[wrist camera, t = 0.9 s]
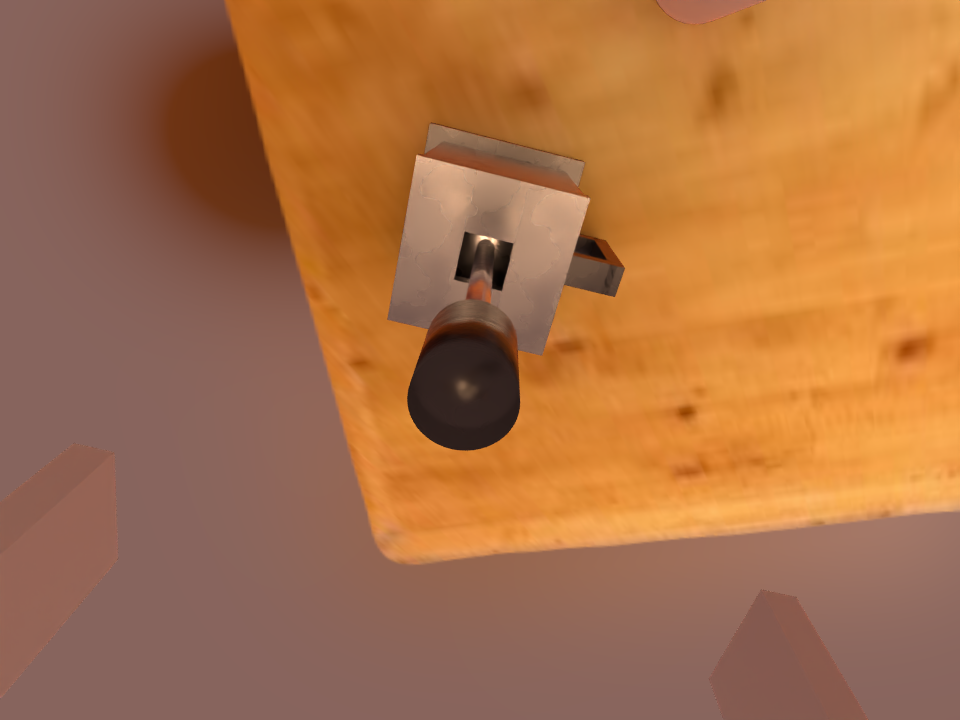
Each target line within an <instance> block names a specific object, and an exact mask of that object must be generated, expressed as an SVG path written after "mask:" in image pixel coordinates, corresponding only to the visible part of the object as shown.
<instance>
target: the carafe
mask: <svg viewBox="0 0 960 720" xmlns="http://www.w3.org/2000/svg"><path fill="white" fill-rule="evenodd" d="M584 165H585V162H584V161H581V160H577V159H573V158H569V157H565V156H561V155H557V154H553V153H549V152H545V151H541V150H537V149H533V148H529V147H525V146H521V145H517V144H513V143H510V142H506V141H502V140H498V139H494V138H490V137H486V136H482V135H478V134H474V133H470V132H466V131H462V130H458V129H454V128H450V127H446V126H442V125H439V124H435V123H430V125H429V131H428V136H427V142H426V147H425V153H424V155H423V154H418V155H417V156H416V162H415V168H414V173H413V179H412V184H411V190H410V196H409V201H408V207H407V213H406V218H405V224H404V229H403V235H402V241H401V246H400V252H399V258H398V263H397V269H396V274H395V280H394V286H393V291H392V297H391V303H390V308H389V314H388V319H387V320H391V321H396V322H400V323H404V324H409V325H413V326H417V327H422V328H426V329H429V327H430V325H431V322H432V321H433V319H434V317H435V316H436V315H437V314H438V313H439V312H440V311H441V310H442V309H443V308H445V307H446V306H448V305H450V304H452V303H455V302H457V301H462V300H466V295H467V290H468V285H469V281H470V279H468V278H464V277H460V276H456V275H455V274H456V269H457V265H458V260H459V256H460V251H461V247H462V242H463V238H464V233H465V232H468V233H473V234H477V235H481V236H485V237H489V238H493V239H497V240H501V241H505V242H510V243H513V247H512V250H511V254H510V258H509V262H508V266H507V270H506V274H505V277H504V281H503V285H502V286H498V285H493V284H492V290H491V302H490V304H493V305H495V306H496V307H498V308H499V309H501V310H502V311H503V312H504V313H505V314H506V315H507V316H508V317H509V319H510V320H511V322H512V323H513V325H514V328H515V330H516V334H517V344H518V350H520V351H525V352H529V353H533V354H537V355H542V354H543V351H544V348H545V344H546V341H547V338H548V335H549V331H550V328H551V325H552V321H553V318H554V315H555V312H556V308H557V305H558V302H559V299H560V295H561V292H562V289H563V286H564V285H567V286H571V287H576V288H580V289H584V290H588V291H592V292H596V293H601V294H605V295H609V296H613V297H615V295H616V292H617V289H618V286H619V284H620V281H621V278H622V275H623V272H624V269H625V268H624V266H623V265H622V263H621V262H620V260H619V259H618V258H617V256H616V255H615V253H614V252H613V250H612V249H611V248H610V246H609V245H608V243H607V242H606V240H602V239H597V238H593V237H589V236H585V235H581V234H579V233H580V230H581V227H582V224H583V220H584V217H585V214H586V210H587V207H588V204H589V201H590V198H589V196H587V195H584V194H583V193H582V192H581V191H580V189H579V188H578V185H579V182H580V179H581V175H582V172H583V169H584Z"/></svg>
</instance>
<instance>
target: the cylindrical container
mask: <svg viewBox="0 0 960 720" xmlns="http://www.w3.org/2000/svg"><path fill="white" fill-rule="evenodd" d="M656 1H657V2H658V4H659V6H660V7H661V8H662V9H663V10H664V11H665V13H666V14H667V15H669V16H670V17H672V18H673V19H675V20H677V21H680V22H683V23H687V24H703V23H707V22H710V21H714V20H716V19H719V18H721V17H724V16H727V15H729V14H732V13H735V12H737V11H740V10H742V9H745V8H748V7H750V6H753V5H755V4H758V3H761V2H763V1H766V0H656Z"/></svg>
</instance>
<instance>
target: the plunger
mask: <svg viewBox="0 0 960 720" xmlns="http://www.w3.org/2000/svg"><path fill="white" fill-rule="evenodd" d="M512 247H513V243H510V242H505V241H501V240H497V239H493V238H489V237H485V236H481V235H477V234H473V233H468V232H465V233H464V238H463V242H462V247H461V251H460V256H459V260H458V265H457V269H456V274H455V275H456V276H460V277H464V278H468V279H470V281H469V285H468V290H467V295H466V300H462V301H457V302H455V303H452V304H450V305H448V306H446V307H445V308H443V309H442V310H441V311H440V312H439V313H438V314H437V315H436V316H435V317H434V319H433V321H432V322H431V325H430V327H429V330H428V333H427V335H426V338H425V341H424V344H423V347H422V350H421V353H420V356H419V359H418V362H417V365H416V368H415V371H414V374H413V377H412V379H411V382H410V386H409V389H408V396H407V402H408V409H409V412H410V415H411V418H412V420H413V422H414V423H415V425H416V426H417V428H418V429H419V430H420V431H421V432H422V433H423V434H424V435H425V436H426V437H427V438H429V439H430V440H431V441H433V442H435V443H437V444H439V445H441V446H444V447H446V448H450V449H455V450H476V449H481V448H484V447H487V446H490V445H492V444H494V443H496V442H497V441H499V440H500V439H502V438H503V437H504V436H505V435H506V434H507V433H508V432H509V431H510V430H511V428H512V427H513V425H514V424H515V422H516V419H517V417H518V414H519V409H520V390H519V367H518V344H517V334H516V330H515V328H514V325H513V323H512V322H511V320H510V319H509V317H508V316H507V315H506V314H505V313H504V312H503V311H502V310H501V309H499V308H498V307H496V306H495V305H493V304H490V302H491V290H492V284H493V285H498V286H502V285H503V281H504V277H505V274H506V270H507V266H508V262H509V258H510V254H511V250H512Z"/></svg>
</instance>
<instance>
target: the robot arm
mask: <svg viewBox="0 0 960 720" xmlns="http://www.w3.org/2000/svg"><path fill="white" fill-rule="evenodd" d="M114 455H115V453H114V452H112V451H107V450H102V449H97V448H93V447H88V446H83V445H79V444H73V445H71V446H70V447H69V448H68V449H67V450H65V451H64V452H62V453H61V454H60V455H59V456H57V457H56V458H55V459H54V460H52V461H51V462H50V463H49V464H47V465H46V466H45V467H44V468H42V469H41V470H40V471H39V472H37V473H36V474H35V475H34V476H32V477H31V478H30V479H29V480H27V481H26V482H25V483H23V484H22V485H21V486H20V487H18V488H17V489H16V490H15V491H13V492H12V493H11V494H10V495H8V496H7V497H6V498H5V499H3V500H2V501H1V502H0V699H1V697H2V696H3V695H4V694H5V693H6V691H7V690H8V689H9V688H10V687H11V686H12V684H13V683H14V682H15V681H16V679H17V678H18V677H19V676H20V675H21V674H22V673H23V671H24V670H25V669H26V668H27V667H28V665H29V664H30V663H31V662H32V661H33V659H34V658H35V657H36V656H37V655H38V654H39V652H40V651H41V650H42V649H43V647H44V646H45V645H46V644H47V643H48V642H49V641H50V639H51V638H52V637H53V636H54V635H55V633H56V632H57V631H58V630H59V629H60V628H61V626H62V625H63V624H64V623H65V621H66V620H67V619H68V618H69V617H70V615H71V614H72V613H73V612H74V611H75V610H76V609H77V607H78V606H79V605H80V604H81V603H82V601H83V600H84V599H85V598H86V597H87V595H88V594H89V593H90V592H91V591H92V590H93V588H94V587H95V586H96V585H97V584H98V582H99V581H100V580H101V579H102V578H103V577H104V575H105V574H106V573H107V572H108V571H109V569H110V568H111V567H112V566H113V565H114V564H115V562H116V561H117V560H118V545H117V514H116V486H115V456H114ZM709 681H710V683H711V686H712V689H713V692H714V695H715V697H716V700H717V703H718V706H719V709H720V711H721V714H722V717H723V720H868V718H867V716H866V714H865V713H864V711H863V710H862V708H861V706H860V704H859V703H858V701H857V699H856V698H855V696H854V694H853V692H852V691H851V689H850V687H849V686H848V684H847V682H846V681H845V679H844V677H843V676H842V674H841V672H840V671H839V669H838V667H837V665H836V664H835V662H834V660H833V659H832V657H831V655H830V653H829V652H828V650H827V648H826V647H825V645H824V643H823V642H822V640H821V639H820V636H819V635H818V633H817V632H816V630H815V628H814V626H813V625H812V623H811V621H810V620H809V618H808V616H807V614H806V613H805V611H804V609H803V608H802V606H801V604H800V603H799V601H798V599H797V597H794V596H789V595H785V594H780V593H775V592H770V591H766V590H761V591H760V593H759V594H758V596H757V597H756V599H755V601H754V603H753V604H752V606H751V608H750V609H749V611H748V613H747V615H746V616H745V618H744V619H743V621H742V623H741V625H740V626H739V628H738V630H737V631H736V633H735V635H734V636H733V638H732V640H731V642H730V643H729V645H728V647H727V649H726V650H725V652H724V653H723V655H722V657H721V659H720V660H719V662H718V664H717V665H716V667H715V669H714V671H713V672H712V674H711V676H710V677H709Z"/></svg>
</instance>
